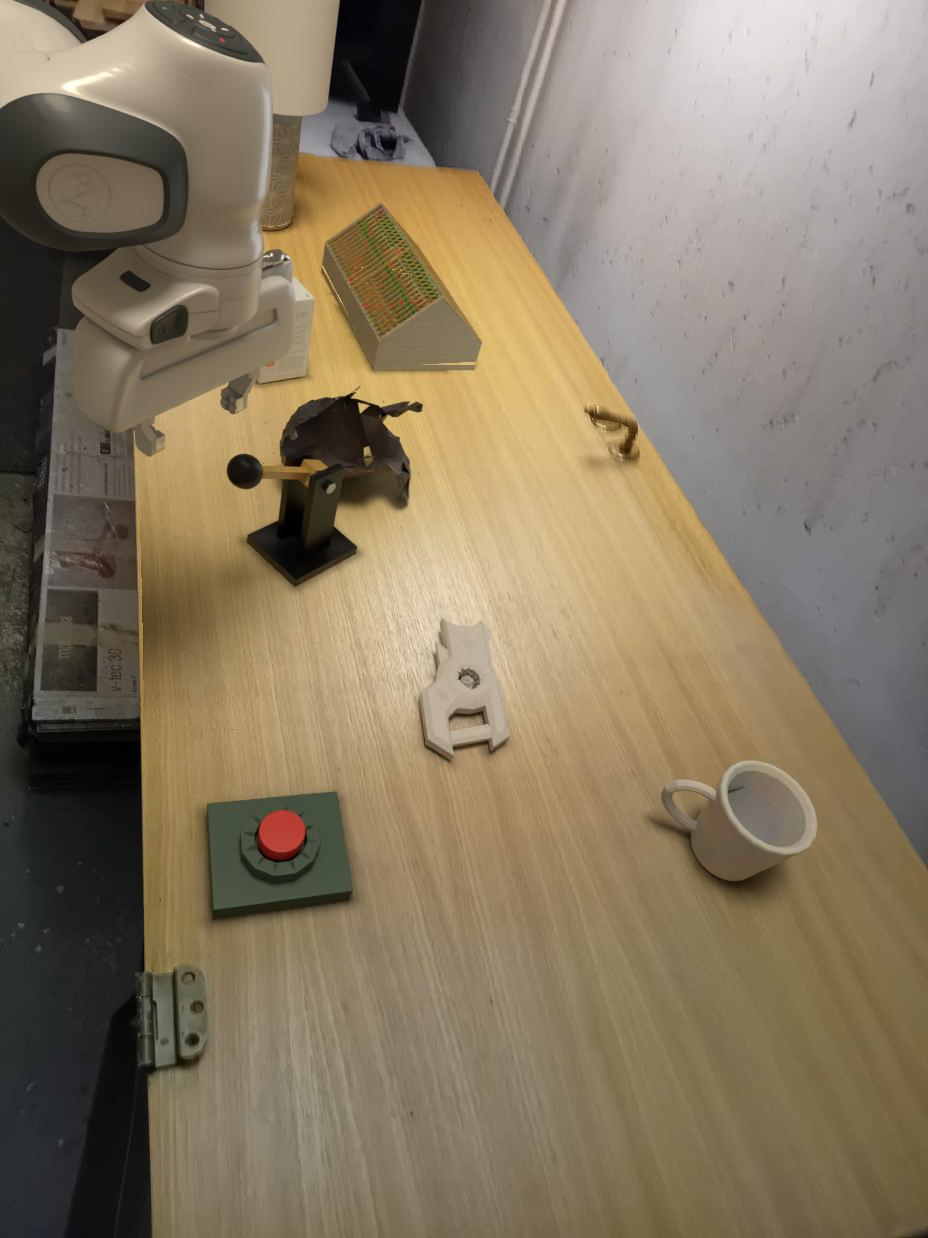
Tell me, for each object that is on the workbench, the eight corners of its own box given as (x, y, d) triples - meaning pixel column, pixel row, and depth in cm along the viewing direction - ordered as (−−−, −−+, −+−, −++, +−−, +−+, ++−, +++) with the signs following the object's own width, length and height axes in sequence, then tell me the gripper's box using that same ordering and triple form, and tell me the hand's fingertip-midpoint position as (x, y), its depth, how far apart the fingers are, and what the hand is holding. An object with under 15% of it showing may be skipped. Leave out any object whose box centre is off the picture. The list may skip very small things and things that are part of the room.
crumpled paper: (393, 440, 119) (254, 447, 112) (412, 359, 108) (257, 360, 100) (419, 513, 112) (272, 524, 105) (441, 434, 101) (278, 441, 94)
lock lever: (236, 496, 82) (250, 466, 81) (214, 475, 83) (227, 445, 82) (325, 495, 94) (338, 469, 93) (304, 477, 96) (317, 451, 94)
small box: (286, 353, 128) (295, 274, 118) (306, 376, 125) (316, 298, 116) (238, 360, 124) (243, 279, 114) (257, 385, 121) (264, 303, 111)
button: (259, 863, 71) (261, 855, 70) (255, 821, 73) (257, 812, 72) (305, 858, 72) (308, 849, 71) (300, 816, 75) (302, 807, 74)
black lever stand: (295, 586, 97) (308, 500, 87) (246, 541, 100) (253, 452, 90) (356, 553, 104) (374, 469, 94) (308, 511, 106) (322, 425, 96)
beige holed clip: (413, 610, 95) (494, 614, 98) (406, 627, 97) (485, 631, 100) (433, 750, 84) (523, 750, 87) (425, 766, 87) (512, 765, 90)
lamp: (316, 250, 152) (350, -21, 121) (200, 231, 145) (204, -59, 115) (309, 199, 164) (338, -57, 134) (201, 180, 158) (206, -94, 128)
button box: (212, 920, 71) (213, 902, 68) (206, 814, 76) (207, 793, 74) (349, 900, 75) (356, 882, 72) (334, 801, 81) (339, 781, 78)
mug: (766, 910, 85) (821, 870, 78) (633, 858, 85) (675, 813, 78) (766, 824, 92) (816, 780, 85) (644, 777, 92) (683, 729, 85)
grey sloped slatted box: (477, 369, 139) (499, 298, 129) (373, 370, 131) (388, 294, 121) (416, 275, 155) (432, 206, 146) (320, 271, 147) (330, 197, 137)
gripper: (264, 225, 67) (251, 370, 77) (49, 290, 54) (67, 455, 64) (323, 262, 66) (302, 403, 76) (118, 337, 53) (125, 498, 63)
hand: (193, 428), depth 70 cm, fingers open, 8 cm apart
